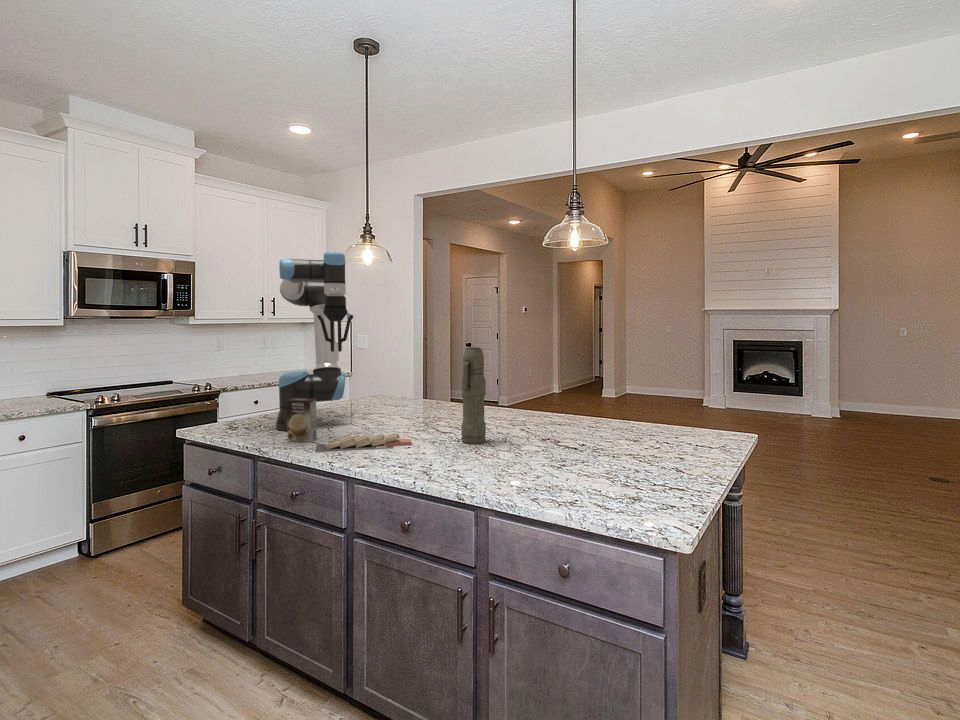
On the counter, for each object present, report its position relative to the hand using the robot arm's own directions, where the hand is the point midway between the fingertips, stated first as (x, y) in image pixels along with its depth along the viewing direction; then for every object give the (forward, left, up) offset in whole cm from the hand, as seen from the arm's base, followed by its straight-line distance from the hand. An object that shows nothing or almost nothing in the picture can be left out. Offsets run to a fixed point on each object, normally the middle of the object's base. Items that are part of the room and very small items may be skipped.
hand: (336, 360), depth 201 cm
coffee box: (-5, -13, -31) cm, 34 cm away
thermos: (+10, +49, -31) cm, 59 cm away
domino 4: (+9, +12, -29) cm, 33 cm away
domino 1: (+9, -4, -29) cm, 31 cm away
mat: (+8, +6, -30) cm, 32 cm away
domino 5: (+9, +16, -29) cm, 35 cm away
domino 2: (+9, +1, -29) cm, 31 cm away
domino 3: (+9, +6, -29) cm, 31 cm away
